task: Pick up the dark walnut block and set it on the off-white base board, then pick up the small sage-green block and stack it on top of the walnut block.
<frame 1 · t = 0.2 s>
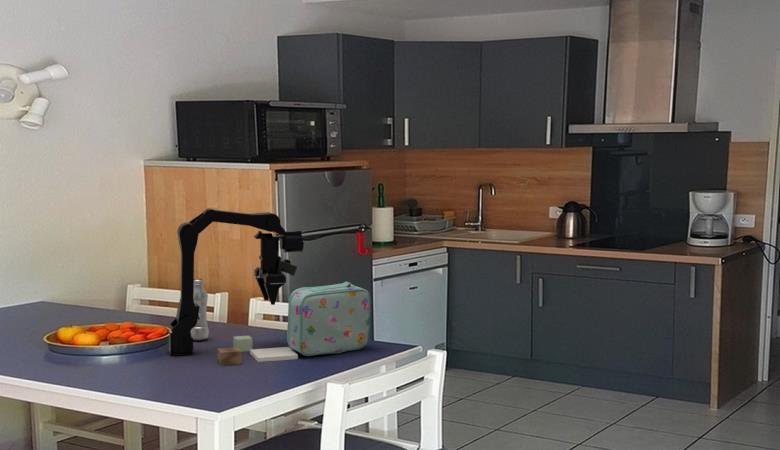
hand: (269, 302, 289), 14 cm above the table, tool pointing down, fingers open, 9 cm apart
walnut block: (229, 363, 270), on the table
lunch box: (330, 352, 285), on the table
sage block: (242, 350, 287), on the table
base board: (273, 356, 278), on the table
plastic bottle: (198, 340, 301), on the table
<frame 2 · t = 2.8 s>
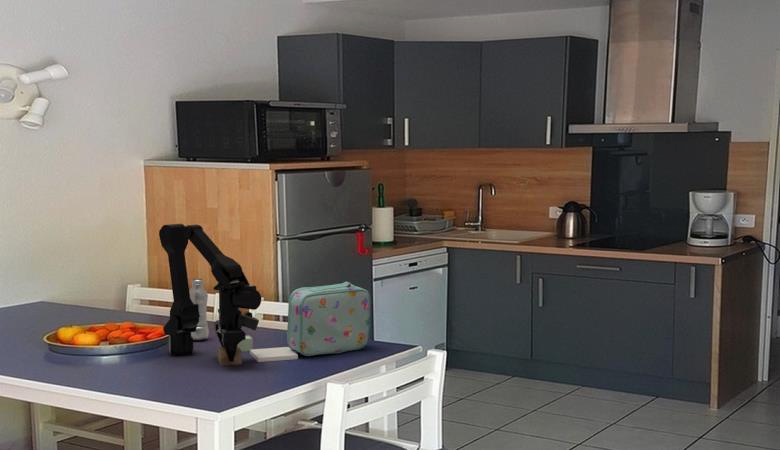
hand: (229, 359, 269), 1 cm above the table, tool pointing down, fingers closed on walnut block, 6 cm apart
walnut block: (229, 362, 270), on the table, touching gripper
everything else where it was.
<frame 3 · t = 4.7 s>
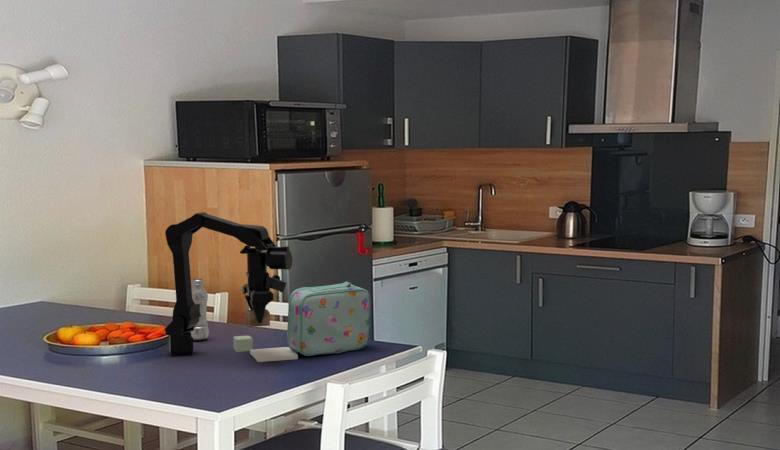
hand: (258, 321, 274), 11 cm above the table, tool pointing down, fingers closed on walnut block, 6 cm apart
walnut block: (258, 324, 274), point 10 cm above the table, touching gripper
everything else where it was.
when the fingers open (4 cm above the table, at t = 6.8 s): walnut block drops 2 cm, resting on base board.
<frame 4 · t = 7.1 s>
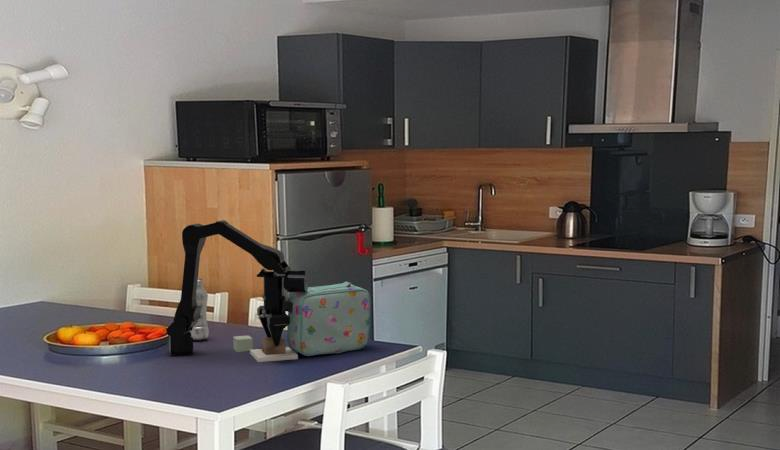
hand: (273, 343, 278), 4 cm above the table, tool pointing down, fingers open, 9 cm apart
walnut block: (273, 352, 278), point 1 cm above the table, touching base board
everything else where it was.
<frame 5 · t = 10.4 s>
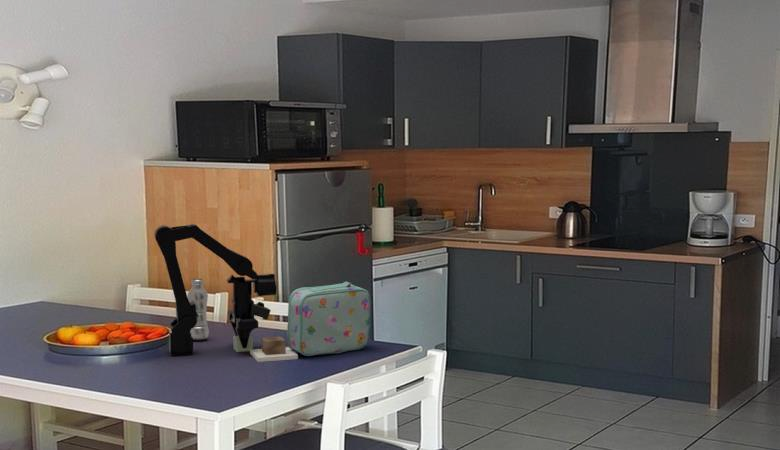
hand: (242, 346, 287), 1 cm above the table, tool pointing down, fingers closed on sage block, 5 cm apart
sage block: (243, 349, 287), on the table, touching gripper
everything else where it was.
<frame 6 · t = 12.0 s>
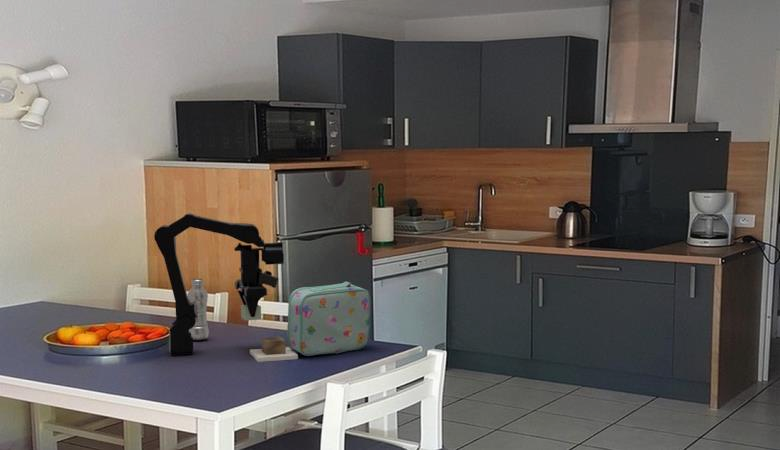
hand: (250, 315, 284), 11 cm above the table, tool pointing down, fingers closed on sage block, 5 cm apart
sage block: (251, 318, 284), point 10 cm above the table, touching gripper
everything else where it was.
when the fingers open (9 cm above the table, at t = 13.8 s): sage block drops 3 cm, resting on walnut block.
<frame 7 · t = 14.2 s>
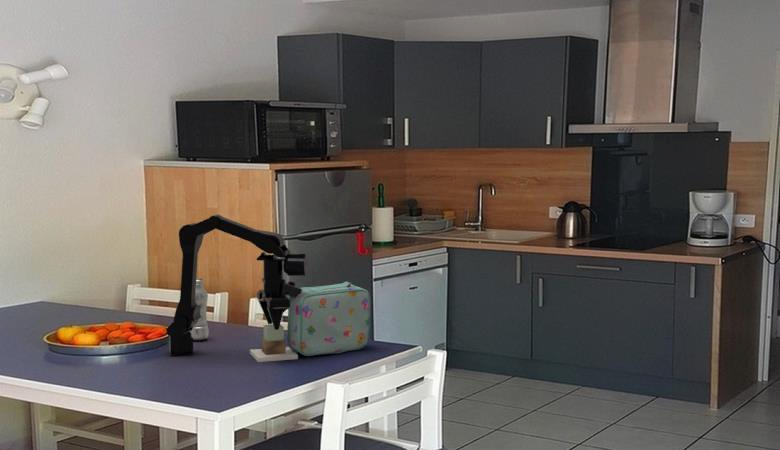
hand: (273, 326, 277), 9 cm above the table, tool pointing down, fingers open, 9 cm apart
walnut block: (273, 352, 278), point 1 cm above the table, touching base board, sage block
sage block: (273, 339, 278), point 5 cm above the table, touching walnut block
everything else where it was.
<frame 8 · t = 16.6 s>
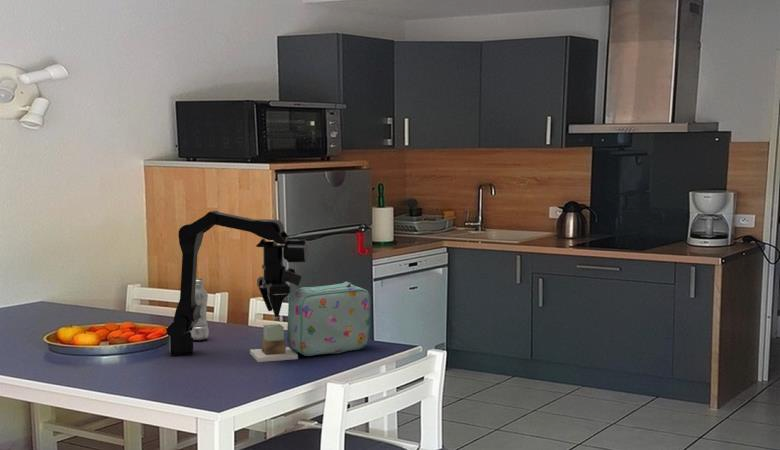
hand: (273, 313, 277), 13 cm above the table, tool pointing down, fingers open, 9 cm apart
nothing on the table moved.
at the end: walnut block 0.0 cm off-centre on the base board, point 1.2 cm above the base board's base; sage block 0.0 cm off-centre on the walnut block, point 4.0 cm above the walnut block's base; sage block tilted 0° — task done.
